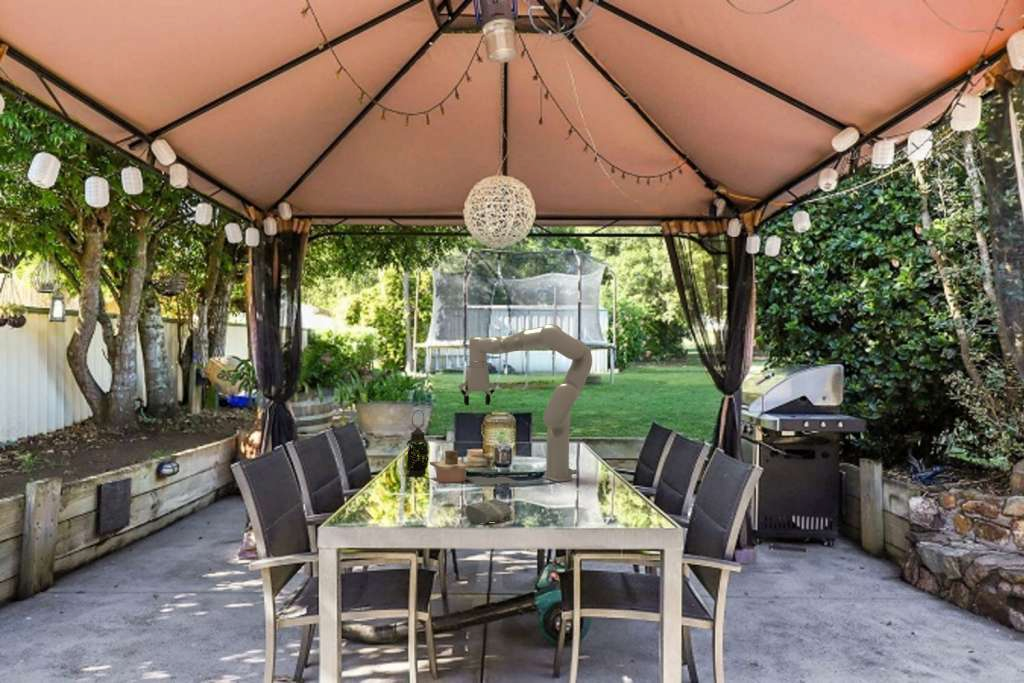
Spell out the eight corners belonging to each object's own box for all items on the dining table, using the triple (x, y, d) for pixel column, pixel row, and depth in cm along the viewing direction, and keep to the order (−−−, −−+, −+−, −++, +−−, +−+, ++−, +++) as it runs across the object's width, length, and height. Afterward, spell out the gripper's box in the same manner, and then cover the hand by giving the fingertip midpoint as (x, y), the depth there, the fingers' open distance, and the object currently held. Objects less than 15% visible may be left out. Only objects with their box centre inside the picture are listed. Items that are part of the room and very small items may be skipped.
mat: (501, 477, 308) (501, 474, 308) (519, 484, 292) (519, 482, 292) (462, 479, 301) (462, 477, 301) (478, 487, 285) (478, 485, 285)
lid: (461, 462, 305) (461, 448, 305) (473, 467, 292) (473, 452, 292) (429, 464, 299) (430, 449, 299) (440, 469, 287) (440, 454, 287)
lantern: (417, 472, 317) (418, 408, 317) (432, 475, 312) (433, 410, 312) (401, 475, 309) (402, 410, 309) (417, 478, 304) (418, 411, 304)
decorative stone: (491, 514, 240) (491, 496, 240) (515, 519, 233) (515, 501, 233) (465, 522, 229) (465, 503, 229) (490, 527, 223) (490, 507, 223)
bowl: (458, 478, 303) (459, 463, 303) (468, 483, 293) (468, 467, 293) (433, 480, 298) (434, 464, 298) (442, 485, 288) (442, 468, 288)
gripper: (492, 365, 321) (492, 403, 321) (456, 365, 314) (455, 404, 313) (499, 365, 314) (498, 405, 314) (462, 365, 307) (461, 406, 307)
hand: (477, 404), depth 314 cm, fingers open, 9 cm apart
